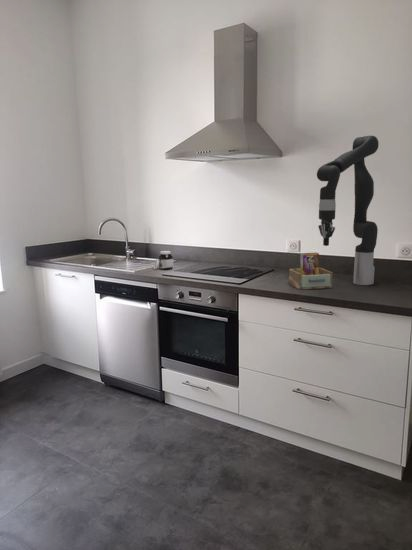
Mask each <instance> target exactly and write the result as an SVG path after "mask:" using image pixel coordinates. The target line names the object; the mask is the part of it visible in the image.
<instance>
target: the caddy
mask: <svg viewBox="0 0 412 550" xmlns="http://www.w3.org/2000/svg"><path fill="white" fill-rule="evenodd" d="M323 274H330V286H321V287H303V288H302V287H301V274H300V268H289V269H288V285H289V286H290V285H291V286H292V287H294V288H296V289H297V290H312V289H313V290H315V289H332V288H333V271H330V270H328V269H325V268H322V267H319V274H318V275H323Z"/></svg>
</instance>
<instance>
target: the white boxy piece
mask: <svg viewBox="0 0 412 550" xmlns="http://www.w3.org/2000/svg"><path fill="white" fill-rule="evenodd" d="M321 286H330V274H323V275H303V276H301V287H302V288H303V287H321Z"/></svg>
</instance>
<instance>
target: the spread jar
mask: <svg viewBox="0 0 412 550" xmlns="http://www.w3.org/2000/svg"><path fill="white" fill-rule="evenodd" d="M157 257H158V258H155V261H154V263H153V270H158V268H159V269H160V270H162V271H170V270H172V269H173V268H174V257H173V255H172V253H171V250H160V251H159V255H158V256H157Z"/></svg>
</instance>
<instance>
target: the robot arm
mask: <svg viewBox="0 0 412 550" xmlns="http://www.w3.org/2000/svg"><path fill="white" fill-rule="evenodd" d="M379 144H380V142H379V140H378V138H377V136H375V135H365V136H359V137H356V138H354V140H353V143H352V149H351V150H349V151H346V152H344V153H342V154H341V155H339V156H338V157H336V158H335V159H334V160H332V161H329V162H327V163H325V164H323V165H321V166H320V167H319V168H318V170H317V171H316V177H317V179H318V180H319V182H327V183H326V185H325V186H322V187H320V191H319V203H318V219H319V220H321V221H320V224H319V225H318V230H319V234H320V236H321V237H322V242H323V243H322V245H323V246H325V247H326V246H330V238H332V237H333V234H334V233H335V230H336V226H333V223H334V222H333V220H335V219H336V206H337V205H336V193H337V192H336V190H337V187H338V183H339V181H340V177H341V174H342V173H343V172H345V171H346V170H348V169H349V168H350V167H353V168H354V169H353V170H354V218H353V227H352V229H353V231H352V232H353V235H354V237H356V238H359V239H361V242H360V243H359V244H357V245H355V251H354V263H353V264H354V265H353V266H354V269H353V284H354V285H358V286H371V285H374V279H375V268H376V267H375V265H374V257H375V256H374V255H375V249H376V246H377V239H378V231H379V229H378V225H377V223H376V222H374V221H370V220H367V219H368V218H367V217H368V216H367V215H368V213H367V212H368V209H369V207H370V204H371V202H372V200H373V197H374V193H375V186H374V185H375V181H374V179H373V176H372V175H371V174H370V172H369V170H368V169H367V167H366V163H365V162H366V161H365V159H366V158H367V157H369V156H372V155H374V154H375V153H376V152H377V151H378V149H379Z"/></svg>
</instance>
